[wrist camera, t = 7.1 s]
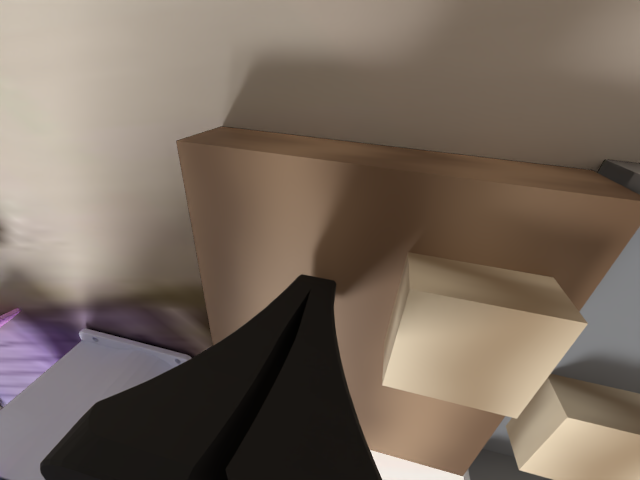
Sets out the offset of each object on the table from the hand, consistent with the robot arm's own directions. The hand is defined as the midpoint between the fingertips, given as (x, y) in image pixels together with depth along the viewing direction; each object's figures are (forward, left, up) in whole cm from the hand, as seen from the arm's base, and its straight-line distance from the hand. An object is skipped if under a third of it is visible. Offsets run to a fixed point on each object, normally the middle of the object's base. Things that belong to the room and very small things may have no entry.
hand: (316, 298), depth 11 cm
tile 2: (+5, 0, -1) cm, 5 cm away
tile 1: (+12, -6, -2) cm, 14 cm away
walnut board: (+2, -3, -4) cm, 5 cm away
